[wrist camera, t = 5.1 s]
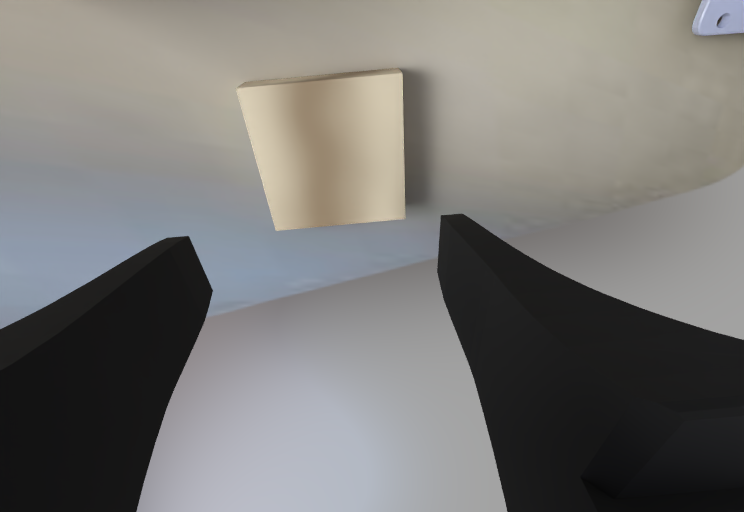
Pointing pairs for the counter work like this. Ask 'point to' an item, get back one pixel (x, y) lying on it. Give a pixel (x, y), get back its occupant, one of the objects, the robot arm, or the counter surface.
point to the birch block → (329, 146)
